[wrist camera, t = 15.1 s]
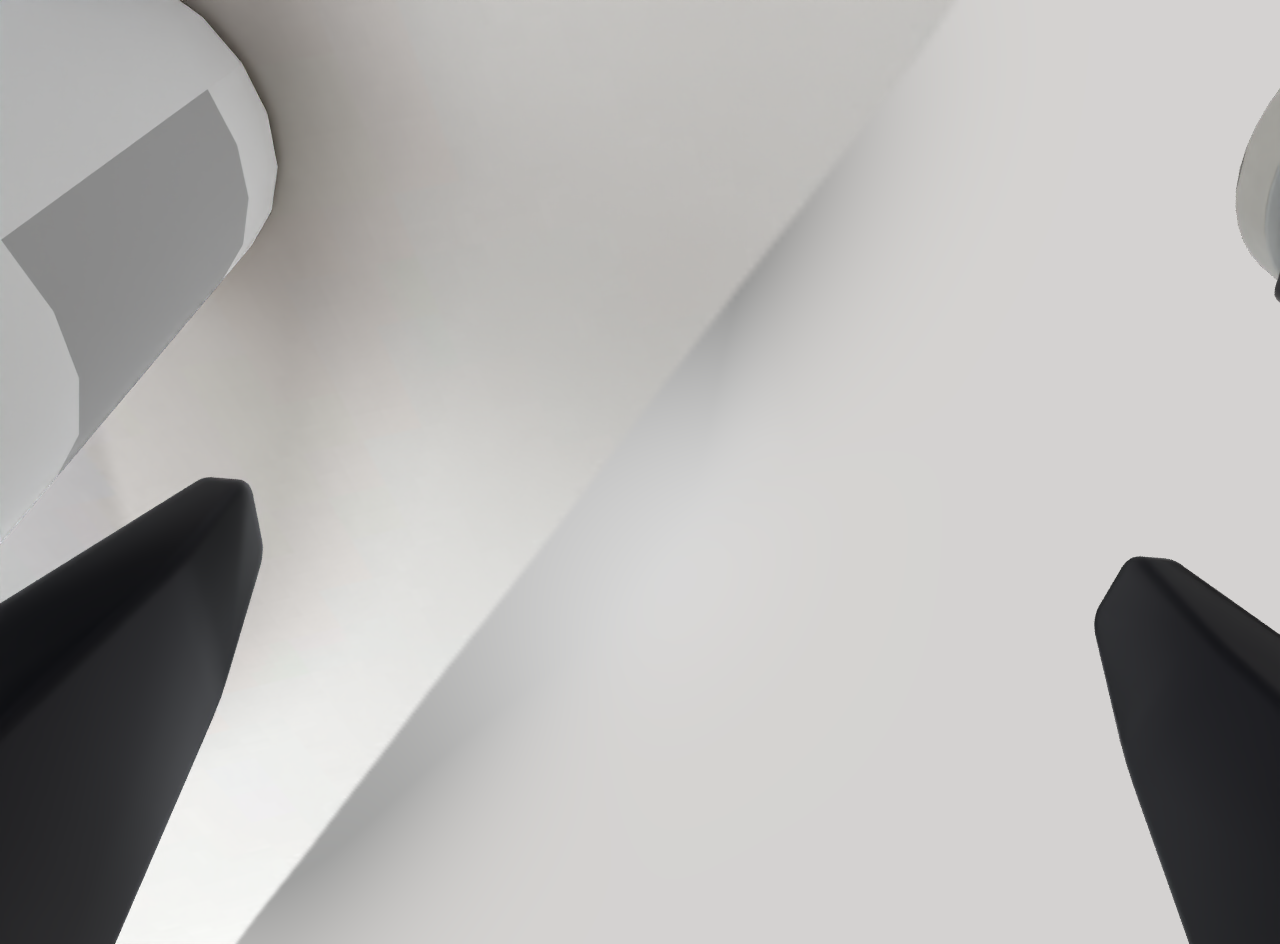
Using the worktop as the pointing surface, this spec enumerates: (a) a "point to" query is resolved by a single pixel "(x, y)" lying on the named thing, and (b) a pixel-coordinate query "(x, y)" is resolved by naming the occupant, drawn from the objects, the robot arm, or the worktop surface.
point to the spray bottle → (111, 210)
